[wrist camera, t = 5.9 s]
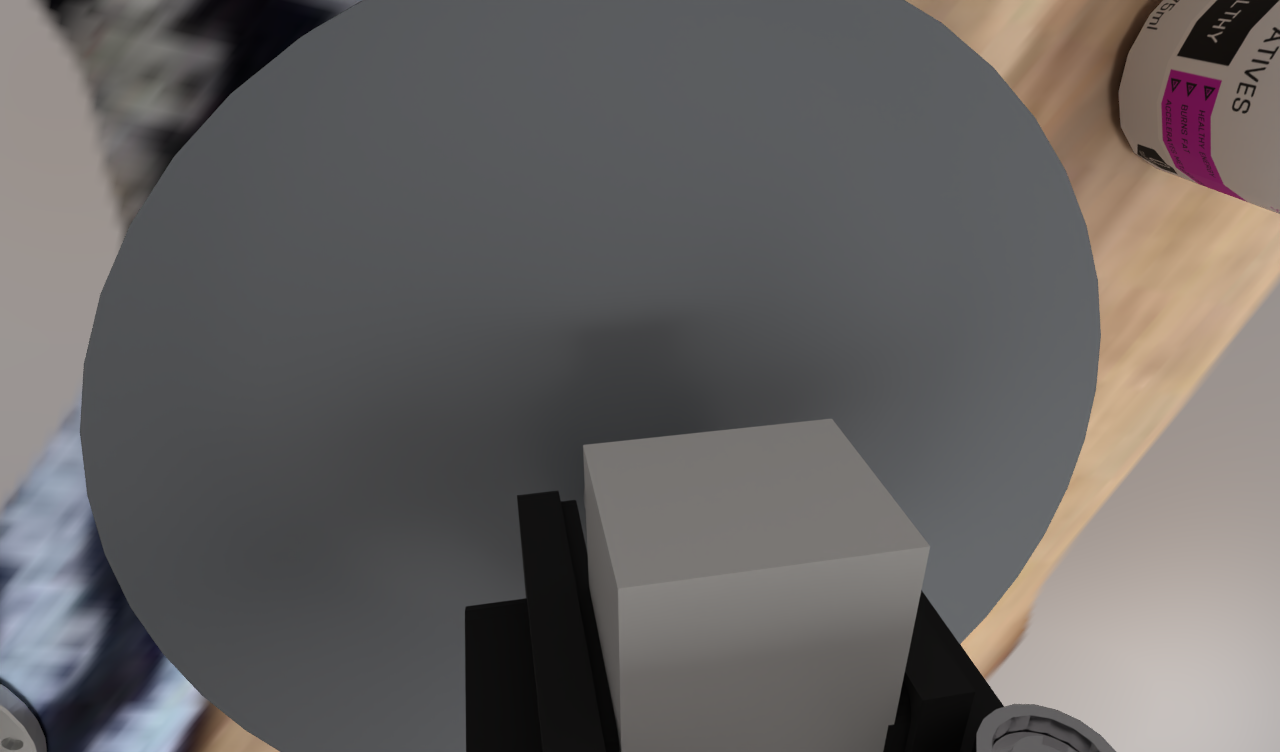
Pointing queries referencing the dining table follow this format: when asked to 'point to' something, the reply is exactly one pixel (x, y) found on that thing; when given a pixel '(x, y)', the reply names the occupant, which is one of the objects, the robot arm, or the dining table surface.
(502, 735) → the robot arm
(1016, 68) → the dining table surface
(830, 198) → the lid
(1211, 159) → the supplement can
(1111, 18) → the dining table surface
